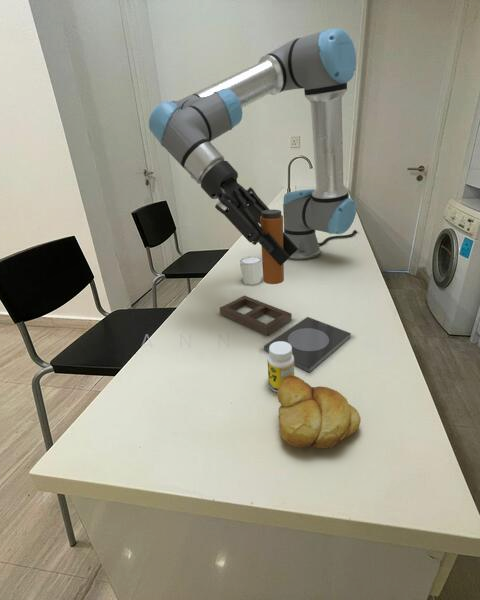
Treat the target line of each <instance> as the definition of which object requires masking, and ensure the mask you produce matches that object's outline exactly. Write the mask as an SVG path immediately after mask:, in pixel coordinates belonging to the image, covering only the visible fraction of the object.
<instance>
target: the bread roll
mask: <svg viewBox="0 0 480 600" xmlns="http://www.w3.org/2000/svg"><path fill="white" fill-rule="evenodd" d="M276 393H277V400H278V403H279V404H280V406H279V407H278V415H277V417H278V421H279V422H278V423H279V435H280V437H281V439H282V440H283V441H284V442H286V443H287V444H288V445H291V446H293V447H295V448H307V447H311V448H318V449H323V448H324V449H325V448H326V449H331V448H333V447H334V446H335V445H336V444H337V443H340V442H341V441H343V440H344V439H346V438H347V437H349V436H351V435H353V434H354V433H355V432H356V431H357V430H358V429H359V427H360V425H361V420H362V418H361V416H360V413H359V411H358V410H357V408H356V407H354V406H352V405H351V404H350V403H349V402H348V399H347V397H345V396H344V395H343V394H342V393H340V392H339V391H337V390H335V389H332V388H331V387H327V386H321V385H320V386H311V385H310V384H309V383H308V382H306V381H305V380H304V379H301V378H300V377H298V376H296V375H294V376H293V375H292V376H287V377H285V378H284V379H283V380H282V381H281V384H280V386H279V388H278V391H277V392H276Z"/></svg>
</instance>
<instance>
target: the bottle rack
mask: <svg viewBox="0 0 480 600" xmlns="http://www.w3.org/2000/svg"><path fill="white" fill-rule="evenodd" d="M244 306H246V307H248V308H251V310H249V311H247V312H246V313H242V312H240V311H237V310H239V309H241V308H242V307H244ZM219 313H220V316H223V317H225V318H227V319H230V320H232V321H234V322H236V323H238V324H240V325H243V326H245V327H247V328H249V329H251V330H254V331H255V332H258V333H260V334H262V335H264V336H266V337H268V336H270V335H271V334H273V333H274V332H276V331H277V330H279V329H281V328H282V327H283V326H285V325H287V324H288V323H290V322H291V321H292V320H293V319H292V315H293V314H292V313H291V312H289V311H287V310H284V309H282V308H279V307H275V306H273V305H270V304H268V303H266V302H263V301H260V300H257V299H256V298H253V297H249V296H247V295H243V296H240V297H239V298H237V299H234V300H232V301H230V302H228V303H226V304H224V305H222V306H220V307H219ZM264 315H268V316H270V317H273V318H274V319H272V320H271V321H269V322H268V323H265V322H263V321H262V320H261V321H260V320H258V319H259V318H261V317H262V316H264Z"/></svg>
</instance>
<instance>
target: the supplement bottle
mask: <svg viewBox="0 0 480 600" xmlns="http://www.w3.org/2000/svg"><path fill="white" fill-rule="evenodd" d="M292 375H293V376H295V365H294V356H293V354H292V346H291V345H290V344H289V343H287V342H284V341H278V342H274V343H272V344H271V345H270V347H269V352H268V355H267V378H268V381H267V382H268V386H269V388H270V390H272V391H273V392H275V393H277V391H278V388H279V386H280V384H281V381H282V380H283V379H284V378H285V377H287V376H292Z"/></svg>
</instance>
